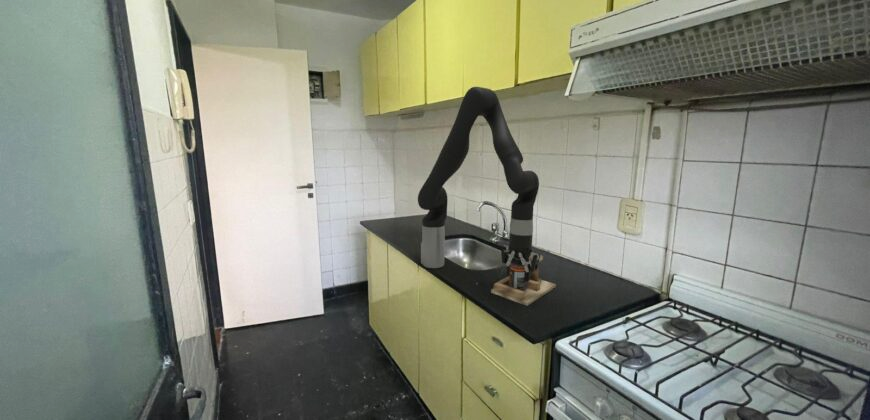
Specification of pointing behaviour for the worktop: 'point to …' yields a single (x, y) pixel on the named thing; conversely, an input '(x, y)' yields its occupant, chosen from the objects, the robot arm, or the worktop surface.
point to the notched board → (532, 293)
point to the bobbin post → (536, 271)
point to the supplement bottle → (517, 275)
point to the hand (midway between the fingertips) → (518, 278)
